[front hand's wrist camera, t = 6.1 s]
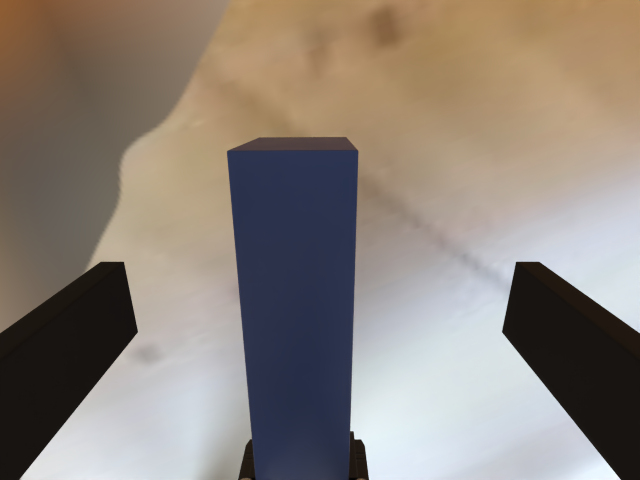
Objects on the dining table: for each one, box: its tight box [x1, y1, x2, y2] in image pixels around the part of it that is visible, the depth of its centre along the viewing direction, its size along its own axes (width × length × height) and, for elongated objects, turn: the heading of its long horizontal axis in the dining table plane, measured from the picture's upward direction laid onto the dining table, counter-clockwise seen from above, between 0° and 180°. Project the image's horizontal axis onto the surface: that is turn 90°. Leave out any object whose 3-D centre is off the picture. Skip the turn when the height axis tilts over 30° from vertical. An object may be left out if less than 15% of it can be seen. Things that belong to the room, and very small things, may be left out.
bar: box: [227, 137, 358, 480], centre depth 23 cm, size 25×5×8 cm, turn 0°
